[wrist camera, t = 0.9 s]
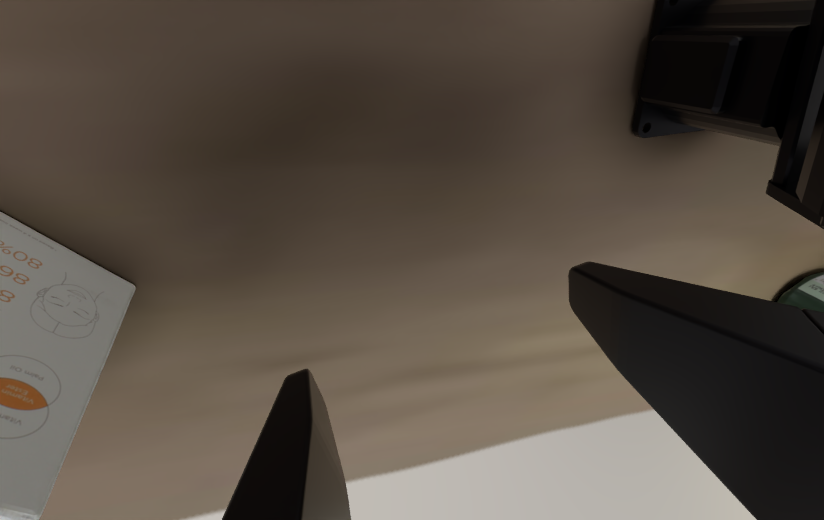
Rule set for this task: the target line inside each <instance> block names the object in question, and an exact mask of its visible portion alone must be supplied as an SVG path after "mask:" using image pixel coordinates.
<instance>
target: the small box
mask: <svg viewBox="0 0 824 520" xmlns="http://www.w3.org/2000/svg"><path fill="white" fill-rule="evenodd" d="M135 289H136V287H135V286H134V285H133V284H132V283H130V282H128V281H126V280H124V279H122V278H120V277H118V276H116V275H115V274H113V273H111V272H109V271H107V270H105V269H104V268H102V267H100V266H98V265H96V264H95V263H93V262H91V261H89V260H87V259H86V258H84V257H82V256H80V255H78V254H76V253H75V252H73V251H71V250H69V249H67V248H66V247H64V246H62V245H60V244H58V243H56V242H55V241H53V240H51V239H49V238H47V237H45V236H44V235H42V234H40V233H38V232H36V231H35V230H33V229H31V228H29V227H27V226H26V225H24V224H22V223H20V222H18V221H17V220H15V219H13V218H11V217H9V216H8V215H6V214H4V213H2V212H0V520H39V518H40V517H41V515H42V513H43V510H44V508H45V505H46V503H47V500H48V498H49V496H50V493H51V491H52V489H53V486H54V484H55V481H56V479H57V476H58V474H59V471H60V469H61V467H62V464H63V462H64V460H65V457H66V455H67V452H68V450H69V448H70V445H71V443H72V440H73V438H74V436H75V433H76V431H77V428H78V426H79V424H80V421H81V419H82V416H83V414H84V412H85V409H86V407H87V405H88V402H89V400H90V398H91V395H92V393H93V390H94V388H95V386H96V383H97V381H98V379H99V376H100V374H101V371H102V369H103V367H104V365H105V362H106V360H107V357H108V355H109V352H110V350H111V347H112V345H113V342H114V340H115V338H116V335H117V333H118V330H119V328H120V326H121V323H122V321H123V318H124V316H125V313H126V311H127V308H128V306H129V303H130V301H131V299H132V296H133V294H134V292H135Z"/></svg>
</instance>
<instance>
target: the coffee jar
mask: <svg viewBox="0 0 824 520" xmlns="http://www.w3.org/2000/svg"><path fill="white" fill-rule="evenodd" d="M777 303H782V304H787V305H791V306H796V307H798V308H800V309H804V308H805V309H810V310H814V311H819V312H823V313H824V272H821V273H817V274H813V275H810V276H808V277H806V278H804V279H803V280H802V281H801V282H799V283H798V284H796V285H795V286H794V287H792V288H791V289H789V290H788V291H786V292H785V293H784V294H783V295H782V296H781V297H780V298H779V300H778V301H777Z"/></svg>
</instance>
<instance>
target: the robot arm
mask: <svg viewBox="0 0 824 520" xmlns="http://www.w3.org/2000/svg"><path fill="white" fill-rule="evenodd" d="M644 125H645V127H644V129H643V130H642V128H643V126H644ZM700 130H710V131H714V132H719V133H723V134H728V135H732V136H737V137H741V138H746V139H750V140H755V141H759V142H764V143H768V144H773V145H777V146H780V148H779V152H778V156H777V160H776V164H775V168H774V172H773V176H772V179H771V180H769V182H768V186H767V190H766V194H767V195H769V196H771V197H772V198H774V199H775V200H777V201H779V202H780V203H782V204H784V205H785V206H787V207H789V208H790V209H792V210H793V211H795V212H797V213H798V214H800V215H802V216H803V217H805V218H806V219H808V220H810V221H811V222H813V223H815V224H816V225H818V226H820V227H821V228H823V229H824V0H671V2H670V4H669V0H658V1H657V6H656V11H655V16H654V22H653V27H652V32H651V37H650V42H649V47H648V52H647V57H646V62H645V67H644V72H643V77H642V82H641V87H640V92H639V97H638V103H637V108H636V113H635V118H634V123H633V130H632V131H633V134H634V135H635V136H638V137H641V138H648V137H655V136H663V135H670V134H678V133H685V132H693V131H700ZM568 277H569V302H570V306H571V308H572V310H573V312H574V313H575V314H576V316H577V317H578V318H579V320H580V321H581V322H582V324H583V325H584V326H585V328H586V329H587V330H588V332H589V333H590V334H591V336H592V337H593V338H594V340H595V341H596V342H597V344H598V345H599V346H600V348H601V349H602V350H603V352H604V353H605V354H606V356H607V357H608V358H609V360H610V361H611V362H612V363H613V365H614V366H615V367H616V368H617V370H618V371H619V372H620V373H621V374H622V375H623V376H624V378H625V379H626V380H627V381H628V382H629V383H630V384H631V385H632V386H633V387H634V388H635V389H636V390H637V392H638V393H639V394H640V395H641V396H642V397H643V398H644V399H645V400H646V401H647V402H648V403H649V404H650V406H651V407H652V408H653V409H654V410H655V411H656V412H657V413H658V414H659V415H660V416H661V417H662V418H663V419H664V421H665V422H666V423H667V424H668V425H669V426H670V427H671V428H672V429H673V430H674V431H675V432H676V433H677V434H678V436H679V437H680V438H681V439H682V440H683V441H684V442H685V443H686V444H687V445H688V446H689V447H690V448H691V450H692V451H693V452H694V453H695V454H696V455H697V456H698V457H699V458H700V459H701V460H702V461H703V462H704V464H706V466H707V467H708V468H709V469H710V470H711V471H712V472H713V473H714V474H715V475H716V476H717V477H718V479H720V481H721V482H722V483H723V484H724V485H725V486H726V487H727V488H728V489H729V490H730V491H731V492H732V494H733V495H734V496H735V497H736V498H737V499H738V500H739V501H740V502H741V503H742V504H743V505H744V506H745V508H746V509H747V510H748V511H749V512H750V513H751V514H752V515H753V516H754V517H755V518H756V519H757V520H824V313H823V312H819V311H814V310H810V309H805V308H804V309H800V308H798V307H796V306H791V305H787V304H782V303H777V302H773V301H768V300H764V299H759V298H754V297H750V296H745V295H741V294H736V293H732V292H727V291H722V290H718V289H713V288H709V287H704V286H699V285H695V284H690V283H686V282H681V281H677V280H672V279H667V278H663V277H658V276H654V275H649V274H644V273H640V272H635V271H631V270H626V269H622V268H617V267H612V266H608V265H603V264H599V263H594V262H585V263H582V264H580V265H577V266H574V267H572V268H571V269H570V271H569V275H568ZM349 509H350V508H349V501H348V495H347V489H346V483H345V479H344V474H343V470H342V466H341V462H340V458H339V455H338V451H337V447H336V443H335V439H334V435H333V431H332V427H331V424H330V420H329V416H328V412H327V408H326V405H325V402H324V400H323V397H322V395H321V393H320V391H319V389H318V386H317V384H316V382H315V380H314V378H313V376H312V373H311V372H310V371H309V370H308V369H303V370H301V371H298V372H296V373H293V374H290V375H288V376H287V377H286V378H285V380H284V382H283V384H282V387H281V389H280V391H279V393H278V396H277V398H276V400H275V402H274V404H273V407H272V409H271V411H270V413H269V416H268V418H267V420H266V422H265V425H264V427H263V429H262V431H261V433H260V436H259V438H258V440H257V442H256V445H255V447H254V449H253V451H252V454H251V456H250V458H249V460H248V462H247V465H246V467H245V469H244V471H243V474H242V476H241V478H240V480H239V483H238V485H237V487H236V489H235V491H234V494H233V496H232V498H231V500H230V503H229V505H228V507H227V509H226V511H225V514H224V516H223V518H222V520H351V516H350V510H349Z"/></svg>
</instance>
